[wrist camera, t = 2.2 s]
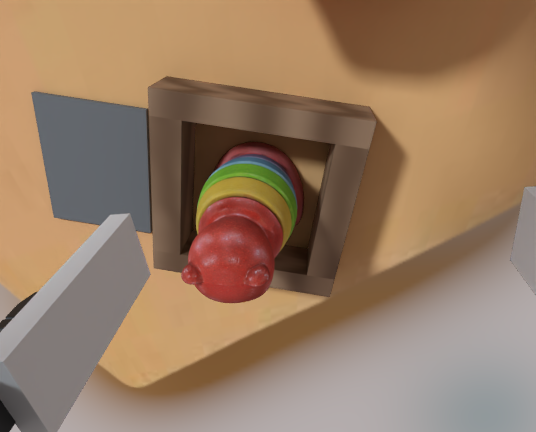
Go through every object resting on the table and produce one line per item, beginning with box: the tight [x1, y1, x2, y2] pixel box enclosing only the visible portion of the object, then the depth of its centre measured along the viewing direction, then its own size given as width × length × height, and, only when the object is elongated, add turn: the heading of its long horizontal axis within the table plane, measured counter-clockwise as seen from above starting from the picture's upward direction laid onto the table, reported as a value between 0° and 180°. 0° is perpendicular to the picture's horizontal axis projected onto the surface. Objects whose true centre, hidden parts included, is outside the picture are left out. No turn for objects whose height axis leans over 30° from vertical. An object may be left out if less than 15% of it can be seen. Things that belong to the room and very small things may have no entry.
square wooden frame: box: [148, 77, 376, 297], centre depth 41 cm, size 20×20×5 cm
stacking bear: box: [181, 142, 304, 303], centre depth 36 cm, size 11×10×18 cm
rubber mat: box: [32, 92, 152, 233], centre depth 44 cm, size 12×15×1 cm
